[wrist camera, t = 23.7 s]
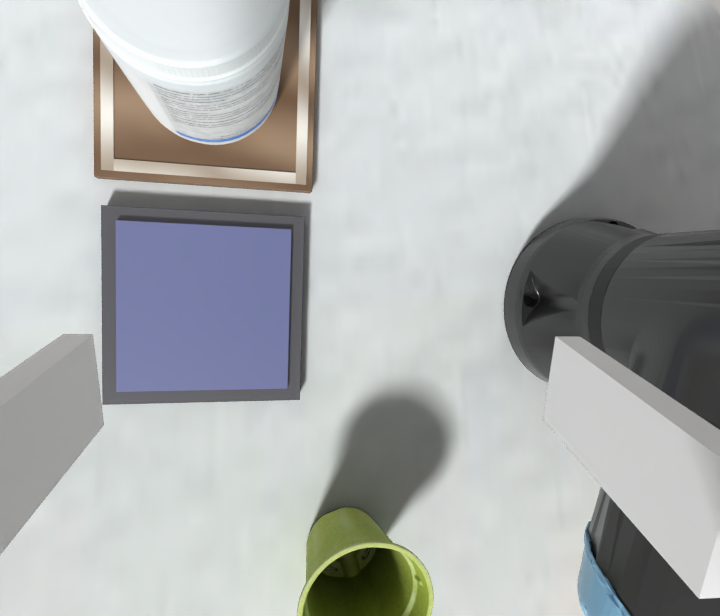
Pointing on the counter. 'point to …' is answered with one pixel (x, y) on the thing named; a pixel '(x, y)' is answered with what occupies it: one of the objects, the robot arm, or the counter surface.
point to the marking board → (202, 161)
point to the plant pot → (361, 571)
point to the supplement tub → (198, 60)
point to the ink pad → (200, 306)
